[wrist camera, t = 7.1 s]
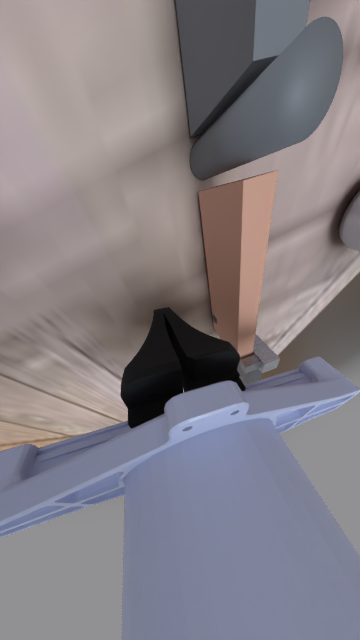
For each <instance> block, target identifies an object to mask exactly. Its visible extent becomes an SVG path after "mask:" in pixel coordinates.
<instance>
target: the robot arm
mask: <svg viewBox="0 0 360 640" xmlns="http://www.w3.org/2000/svg"><path fill="white" fill-rule="evenodd" d="M239 361H240V355H239V353H238V352H237V350H236V349H235V348H234V347H233V346H232V344H231V343H230V342H227V341H224V340H220V339H217V338H214V337H212V336H209V335H207V334H204V333H202V332H200V331H198V330H196V329H195V328H193V327H191V326H190V325H189V324H187V323H186V322H184V321H183V320H182V319H181V318H180V317H179V316H177V315H176V314H175V313H174V312H173V311H172V310H171V308H169V307H168V308H162V309H157V310H154V316H153V321H152V325H151V328H150V331H149V334H148V336H147V338H146V340H145V342H144V344H143V345H142V347H141V349H140V350H139V352H138V353H137V354H136V356H135V357H134V358H133V360H132V361H131V362H130V363H129V364H128V365H127V367H126V368H125V370H124V373H123V377H122V382H121V398H122V400H123V401H124V403H125V405H126V406H127V408H128V421H125V422H122V423H119V424H116V425H112V426H109V427H106V428H103V429H99V430H96V431H93V432H89V433H86V434H83V435H80V436H76V437H73V438H70V439H67V440H63V441H60V442H57V443H54V444H50V445H47V446H44V447H40V448H38V447H37V446H35V445H32V444H25V445H20V446H17V447H13V448H10V449H7V450H3V451H0V538H1V537H5V536H8V535H11V534H13V533H16V532H18V531H21V530H23V529H26V528H29V527H31V526H34V525H37V524H40V523H43V522H46V521H49V520H51V519H54V518H57V517H60V516H63V515H66V514H69V513H72V512H75V511H78V510H81V509H84V508H87V507H90V506H92V505H96V504H99V503H102V502H105V501H108V500H111V499H113V498H117V497H119V496H123V495H125V498H124V499H125V500H124V547H123V594H122V595H123V596H122V597H123V598H122V640H360V555H359V554H358V553H357V551H356V550H355V548H354V547H353V545H352V543H351V542H350V540H349V539H348V537H347V536H346V534H345V533H344V531H343V530H342V528H341V527H340V525H339V524H338V522H337V521H336V519H335V517H333V515H332V513H331V511H330V510H329V508H328V507H327V505H326V504H325V502H324V501H323V499H322V498H321V496H320V495H319V493H318V492H317V490H316V489H315V487H314V486H313V484H312V483H311V481H310V480H309V478H308V477H307V475H306V473H305V472H304V470H303V469H302V468H301V466H300V464H299V463H298V461H297V460H296V458H295V457H294V455H293V454H292V452H291V451H290V449H289V448H288V446H287V445H286V443H285V442H284V440H283V439H282V437H281V436H280V433H282V432H284V431H286V430H288V429H291V428H293V427H295V426H297V425H299V424H302V423H304V422H306V421H308V420H311V419H313V418H315V417H318V416H320V415H322V414H325V413H327V412H330V411H332V410H335V409H336V408H338V407H339V406H341V405H342V404H344V403H345V402H346V401H348V400H349V399H351V398H352V397H354V396H355V395H356V394H358V393H359V392H360V388H359V387H357V386H356V385H355V384H353V383H352V382H351V381H350V380H348V379H347V378H346V377H345V376H343V375H342V374H341V373H339V372H338V371H337V370H336V369H334V368H333V367H332V366H330V365H329V364H328V363H327V362H325V361H324V360H323V359H322V358H320V357H316V358H312V359H309V360H306V361H304V362H303V363H302V364H301V365H300V366H299V369H295V370H292V371H289V372H286V373H282V374H279V375H276V376H272V377H269V378H266V379H263V380H259V381H256V382H253V383H250V384H246V385H244V384H243V382H242V381H241V379H240V378H239V377H240V374H239V372H238V371H237V367H238V364H239ZM183 389H184V393H183Z"/></svg>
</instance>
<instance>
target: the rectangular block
mask: <svg viewBox="0 0 360 640" xmlns="http://www.w3.org/2000/svg"><path fill="white" fill-rule="evenodd" d="M277 175H278V170H276V171H272V172H269V173H265V174H261V175H257V176H253V177H250V178H246V179H242V180H238V181H235V182H231V183H227V184H223V185H219V186H216V187H213V188H210V189H206V190H203V191H200V192H198V193H199V201H200V210H201V219H202V227H203V236H204V245H205V254H206V262H207V271H208V280H209V289H210V297H211V306H212V315H213V323H214V329H215V331H216V332H217V333H218V335H219V336H220V338H221V339H222V340H224V341H227V342H230V343H231V344H232V346H233V347H234V348H235V349H236V350H237V352H238V353H239V355H240V360H242V359H244V358H247V357H250V356H252V353H253V346H254V339H255V332H256V325H257V318H258V311H259V303H260V296H261V289H262V282H263V275H264V268H265V261H266V254H267V246H268V239H269V232H270V225H271V218H272V211H273V204H274V197H275V189H276V182H277Z"/></svg>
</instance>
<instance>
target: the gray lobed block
mask: <svg viewBox="0 0 360 640" xmlns="http://www.w3.org/2000/svg"><path fill="white" fill-rule="evenodd" d="M175 1H176V10H177V19H178V27H179V36H180V45H181V54H182V63H183V72H184V81H185V90H186V99H187V108H188V117H189V126H190V135H191V137H192V136H196V135H200V134H203V133H204V134H203V135H202V136H201V137H200V138H199V139H198V140H197V141H196V142H195V143H194V145H193V147H192V149H191V153H190V167H191V170H192V172H193V174H194V176H195V177H196V178H198V179H200V180H205V179H208V178H210V177H213V176H216V175H218V174H221V173H223V172H226V171H228V170H231V169H233V168H236V167H238V166H241V165H243V164H246V163H248V162H251V161H254V160H256V159H259V158H261V157H264V156H266V155H269V154H271V153H274V152H276V151H279V150H281V149H284V148H287V147H289V146H292V145H294V144H297V143H299V142H302V141H303V140H305V139H306V138H308V137H309V136H310V135H311V134H312V133H313V132H314V131H315V130H316V128H317V127H318V126H319V124H320V123H321V121H322V120H323V118H324V117H325V115H326V113H327V111H328V109H329V107H330V105H331V103H332V100H333V98H334V95H335V92H336V89H337V86H338V83H339V79H340V74H341V69H342V61H343V41H342V35H341V32H340V29H339V27H338V25H337V23H336V22H335V21H334V20H333V19H331V18H328V17H321V18H318V19H316V20H314V21H313V22H311V23H310V24H309V25H308V26H307V27H306V22H307V16H308V10H309V4H310V0H175Z"/></svg>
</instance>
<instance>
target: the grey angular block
mask: <svg viewBox="0 0 360 640" xmlns="http://www.w3.org/2000/svg"><path fill="white" fill-rule="evenodd" d="M279 360H280V358H279V357H278V356H277V355H276V354H275V353H274V352H273V351H272V350H271V349H270V348H269V347H268V346H267V345H266V344H265V343H264V342H263V341H262V340H261V339H260V338H259V337H258V336H257V335H256V334H255V339H254V346H253V353H252V356H250V357H247V358H244V359H242V360H240V361H239V364H238V367H237V371H238V372H239V374H240V377H239V378H240V379H241V381H242V382H243V384H244V385H246V384H250V383H253V382H256V381H259V380H261V378H262V374H263V373H264V372H267V371H269V370H272V369H274V368H277V365H278V363H279Z"/></svg>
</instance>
